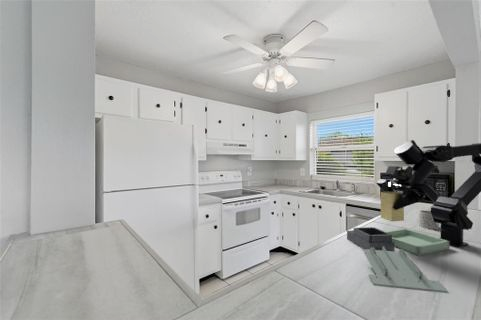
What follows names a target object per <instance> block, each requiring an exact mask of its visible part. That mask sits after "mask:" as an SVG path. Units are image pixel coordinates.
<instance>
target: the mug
mask: <svg viewBox="0 0 481 320" xmlns="http://www.w3.org/2000/svg"><path fill="white" fill-rule="evenodd" d="M418 218H419V219H418V227H420V226H421V227H420V228H422V227H423V228H422V229H426V228H429V229H428V230H431V229H439V230H440V223H437V222H434V220H433V217H432V214H431V210H424V209H423V210H421V209H420V210H419V211H418Z"/></svg>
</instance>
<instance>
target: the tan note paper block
mask: <svg viewBox="0 0 481 320" xmlns="http://www.w3.org/2000/svg"><path fill="white" fill-rule="evenodd" d="M402 194H403V192H399V191H397V192H392V191H391V192H384V191H380V218H381V219H385V220H386V221H389V222H402V221H404V220H405V209H404V208H405V207H403V208H400V209H398V210H395V209H394V208H393V207H394V205H395V204H396V202H397V201H398V200H399V198H400V197H401V196H402Z"/></svg>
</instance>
